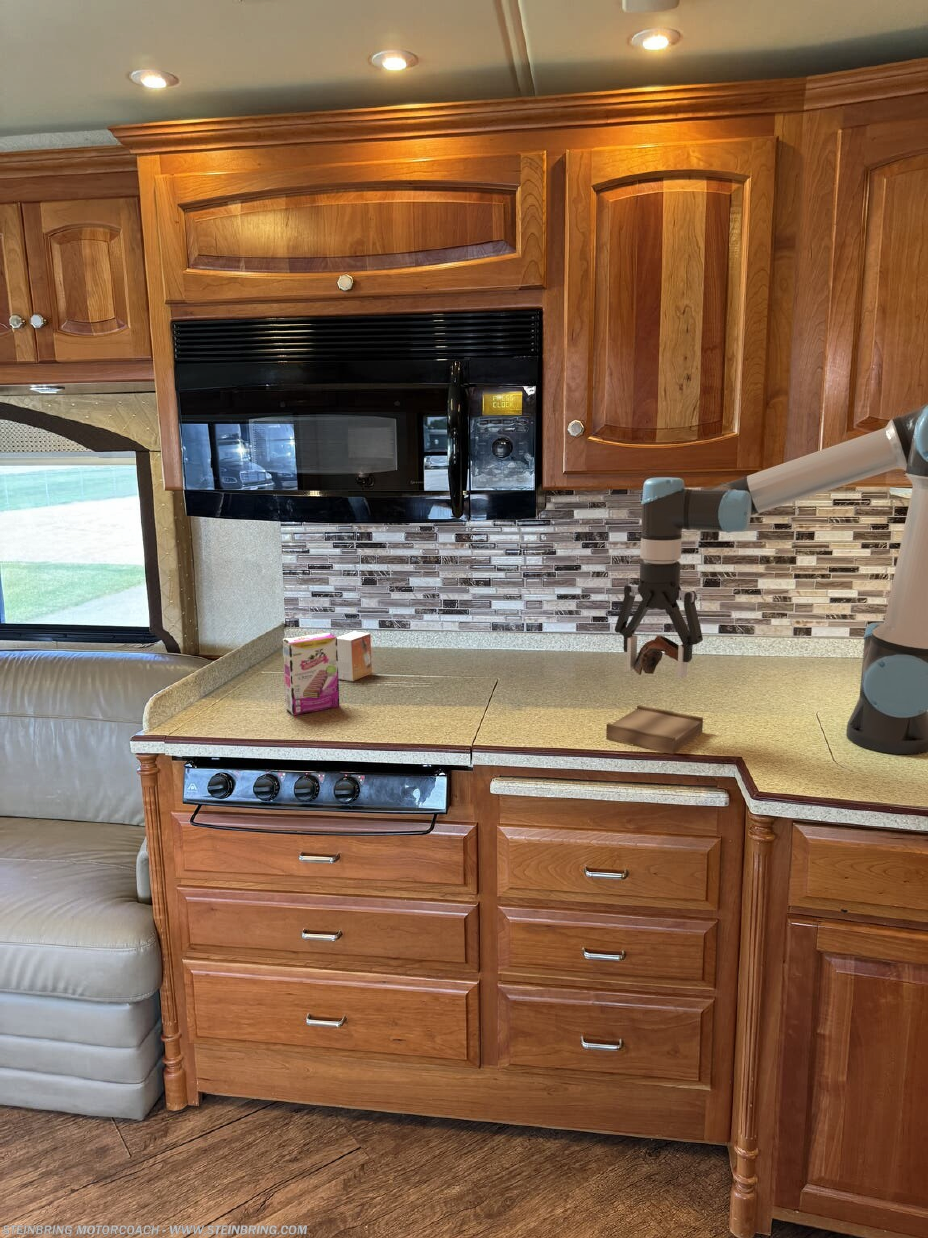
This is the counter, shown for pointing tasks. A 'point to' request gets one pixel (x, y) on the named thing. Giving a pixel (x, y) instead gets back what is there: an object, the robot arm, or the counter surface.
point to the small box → (354, 655)
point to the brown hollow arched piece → (655, 654)
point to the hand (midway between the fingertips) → (656, 673)
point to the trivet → (655, 729)
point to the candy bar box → (311, 673)
